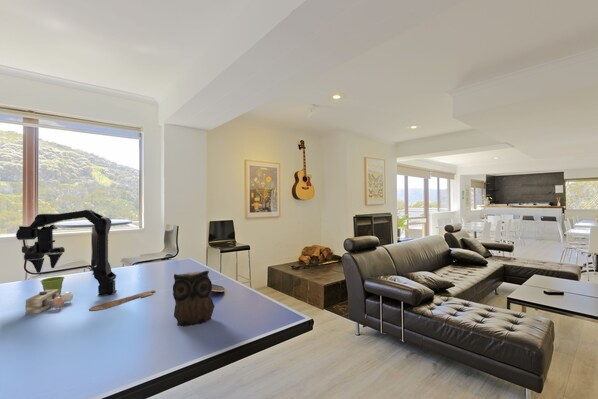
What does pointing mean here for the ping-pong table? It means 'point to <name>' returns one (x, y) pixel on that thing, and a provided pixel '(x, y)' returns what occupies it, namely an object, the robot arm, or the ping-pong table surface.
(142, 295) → the paddle
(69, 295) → the knob
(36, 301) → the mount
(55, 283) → the plant pot
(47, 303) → the knob
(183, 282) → the owl
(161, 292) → the ping-pong table surface
